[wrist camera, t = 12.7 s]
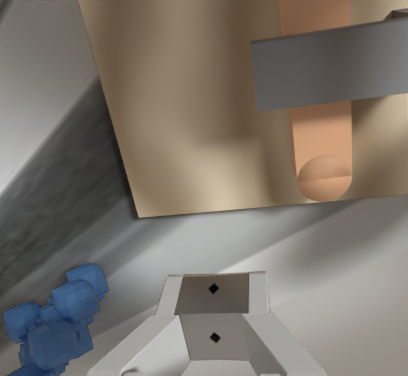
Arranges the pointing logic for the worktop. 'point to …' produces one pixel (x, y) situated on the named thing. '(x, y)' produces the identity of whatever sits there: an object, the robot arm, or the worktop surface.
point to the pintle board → (245, 98)
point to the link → (319, 111)
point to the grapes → (57, 323)
